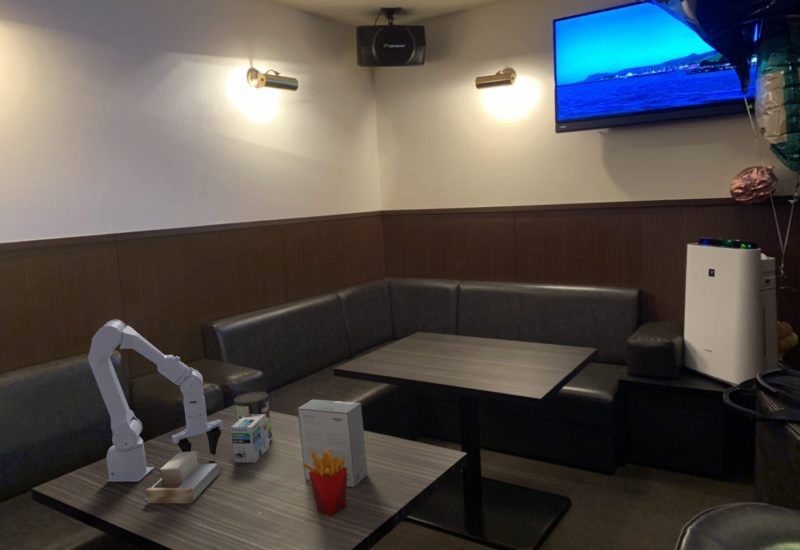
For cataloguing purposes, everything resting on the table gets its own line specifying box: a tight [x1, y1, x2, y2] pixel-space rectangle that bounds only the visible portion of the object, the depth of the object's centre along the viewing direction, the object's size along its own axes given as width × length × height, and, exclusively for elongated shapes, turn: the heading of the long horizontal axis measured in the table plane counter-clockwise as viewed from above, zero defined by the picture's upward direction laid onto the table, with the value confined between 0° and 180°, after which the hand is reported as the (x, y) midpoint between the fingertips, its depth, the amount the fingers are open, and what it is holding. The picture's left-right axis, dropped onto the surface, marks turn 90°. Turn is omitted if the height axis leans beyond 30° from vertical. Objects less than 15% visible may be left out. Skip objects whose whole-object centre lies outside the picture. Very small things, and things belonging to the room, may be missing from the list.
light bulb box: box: [230, 414, 270, 464], centre depth 175 cm, size 11×7×11 cm, turn 169°
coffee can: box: [233, 391, 273, 442], centre depth 186 cm, size 10×10×14 cm
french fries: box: [301, 449, 348, 517], centre depth 140 cm, size 9×8×15 cm
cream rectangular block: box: [160, 450, 200, 488], centre depth 162 cm, size 5×10×6 cm, turn 172°
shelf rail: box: [145, 487, 195, 504], centre depth 151 cm, size 12×1×4 cm, turn 82°
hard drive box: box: [297, 399, 368, 488], centre depth 157 cm, size 16×8×20 cm, turn 65°
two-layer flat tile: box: [178, 463, 220, 501], centre depth 158 cm, size 5×15×3 cm, turn 172°
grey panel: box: [144, 477, 164, 502], centre depth 160 cm, size 2×15×3 cm, turn 172°
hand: (201, 458), depth 172 cm, fingers open, 7 cm apart
